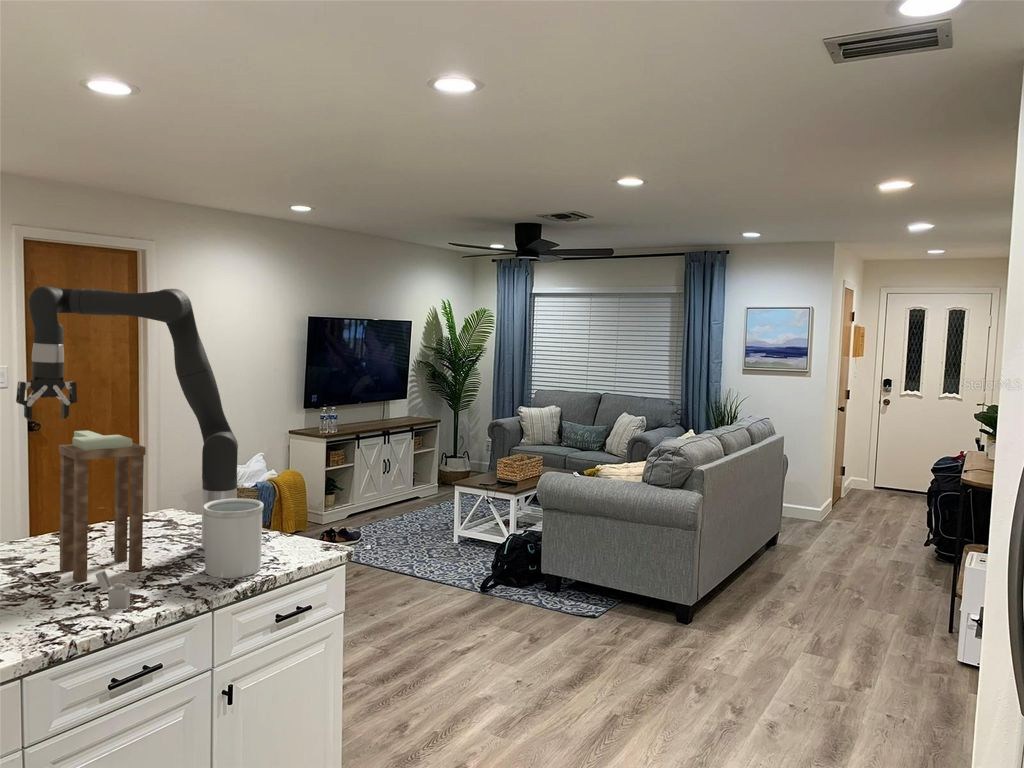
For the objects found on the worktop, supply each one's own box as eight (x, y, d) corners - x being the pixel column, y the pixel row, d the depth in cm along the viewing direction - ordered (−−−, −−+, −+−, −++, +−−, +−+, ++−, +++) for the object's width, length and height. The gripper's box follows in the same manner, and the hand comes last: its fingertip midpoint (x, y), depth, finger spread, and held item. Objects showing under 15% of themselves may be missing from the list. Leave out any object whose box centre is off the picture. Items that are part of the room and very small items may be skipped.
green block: (103, 436, 208) (103, 429, 208) (132, 446, 194) (132, 439, 194) (58, 439, 200) (58, 432, 200) (85, 450, 186) (85, 442, 186)
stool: (124, 558, 206) (125, 440, 203) (143, 570, 197) (145, 447, 195) (58, 569, 194) (58, 445, 192) (75, 583, 185) (76, 452, 183)
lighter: (130, 606, 172) (130, 571, 172) (126, 609, 170) (126, 573, 170) (99, 604, 172) (99, 569, 172) (94, 607, 170) (95, 572, 170)
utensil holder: (226, 583, 190) (227, 514, 189) (189, 571, 198) (190, 504, 197) (274, 569, 202) (275, 504, 201) (238, 558, 210) (239, 495, 209)
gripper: (23, 361, 201) (22, 422, 202) (81, 361, 211) (80, 419, 212) (13, 358, 205) (12, 418, 206) (71, 359, 216) (69, 416, 217)
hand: (46, 419), depth 209 cm, fingers open, 8 cm apart
